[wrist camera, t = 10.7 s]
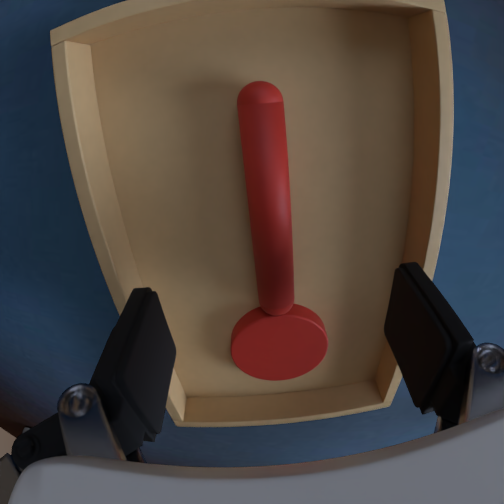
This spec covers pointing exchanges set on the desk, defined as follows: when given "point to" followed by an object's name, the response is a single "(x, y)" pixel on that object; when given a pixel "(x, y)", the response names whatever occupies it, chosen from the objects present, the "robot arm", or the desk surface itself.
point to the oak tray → (234, 186)
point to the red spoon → (272, 249)
